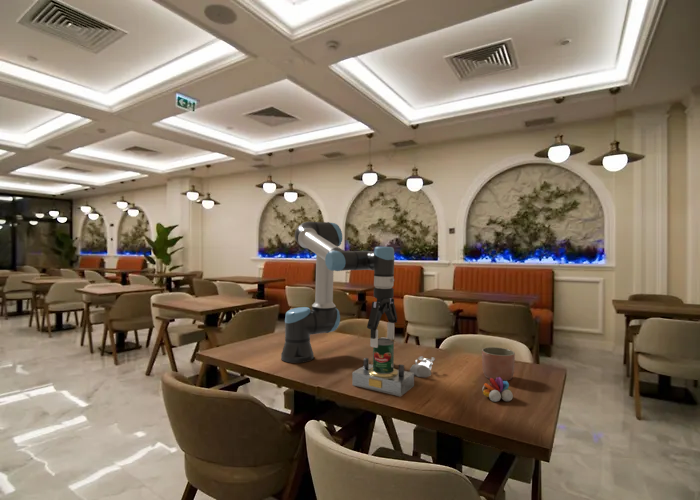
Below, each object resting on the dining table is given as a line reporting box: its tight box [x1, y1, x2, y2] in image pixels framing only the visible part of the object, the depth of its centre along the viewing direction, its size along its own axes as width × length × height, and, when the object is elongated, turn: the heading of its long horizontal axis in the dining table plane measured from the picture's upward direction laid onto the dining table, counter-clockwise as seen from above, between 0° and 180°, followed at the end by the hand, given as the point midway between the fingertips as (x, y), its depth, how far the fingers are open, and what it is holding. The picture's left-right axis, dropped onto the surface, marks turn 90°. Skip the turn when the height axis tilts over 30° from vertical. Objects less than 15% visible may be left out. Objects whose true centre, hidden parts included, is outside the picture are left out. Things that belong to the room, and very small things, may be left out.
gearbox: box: [351, 357, 415, 397], centre depth 141 cm, size 20×13×9 cm, turn 58°
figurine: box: [409, 355, 436, 378], centre depth 155 cm, size 9×6×12 cm
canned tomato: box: [372, 339, 395, 374], centre depth 141 cm, size 8×8×11 cm
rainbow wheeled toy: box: [481, 377, 514, 403], centre depth 130 cm, size 8×10×7 cm
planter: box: [481, 346, 516, 382], centre depth 150 cm, size 12×12×11 cm
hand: (382, 343), depth 141 cm, fingers open, 13 cm apart
